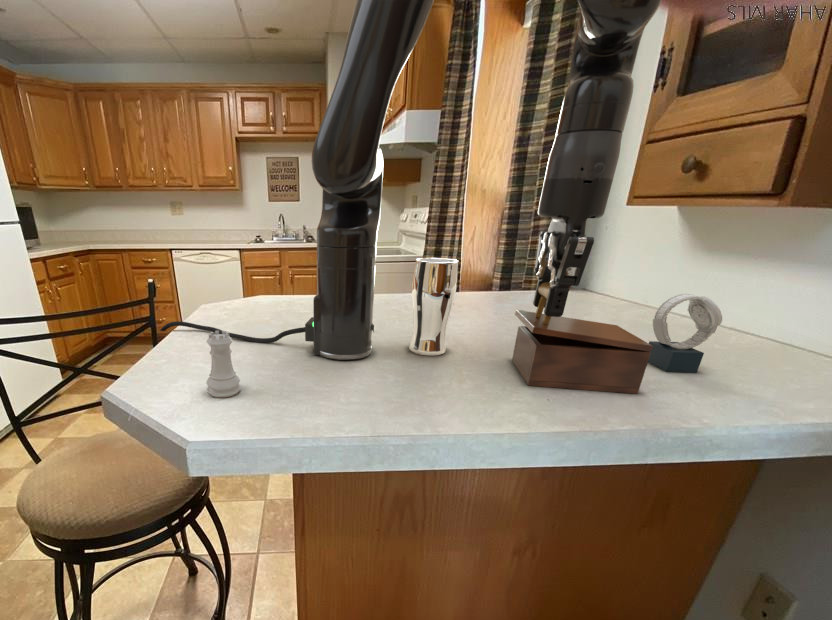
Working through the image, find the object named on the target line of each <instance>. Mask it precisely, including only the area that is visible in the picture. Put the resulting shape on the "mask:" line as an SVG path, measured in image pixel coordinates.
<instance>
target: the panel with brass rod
mask: <svg viewBox="0 0 832 620" xmlns="http://www.w3.org/2000/svg"><path fill="white" fill-rule="evenodd" d="M549 287H550V283H549V282H545V283H542V284H541V285H540V286H539V288H538V292H539V294H540V295H541V298H540V301H539V304H538V307H536V311H535V312H534V311H527V310H521V309H516V310H515V312H514V316H515V317H516V318H517V319H518V320H519V321H520V322H521V323H522V324H523V326H526V327H527V328H528V329H529V330H530V331H531V332H532V333H536V334H542V335H549V336H555V337H561V338H567V339H574V340H580V341H586V342H592V343H598V344H605V345H611V346H617V347H623V348H630V349H636V350H642V351H648V352H651V350H652V348H653V346H652V345H650V344H649V342H647V341H645V340H643V339H641V338H640V337H638V336H637V335H635V334H633V333H632V332H630V331H628V330H626V329H624V328H623V327H621V326H619V325H618V324H611V323H606V322H605V323H604V322H599V321H591V320H585V319H578V318H573V317H566V316H561V317H551V316H546V315H545V314H544V309H545V308H544V306H545V303H546V300H547V296H548V292H549Z"/></svg>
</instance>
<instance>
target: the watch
mask: <svg viewBox="0 0 832 620" xmlns="http://www.w3.org/2000/svg"><path fill="white" fill-rule="evenodd" d="M687 301H689V303H688V305H687V312H688V314H689V316H690V319H691V320H692V321H693V322H694V325H695V330H696V332H695V333H694V334H693V335H692V336H691V337H688V338H687V339H686V340H683V341H680V342H679V341H672V339H671V336H670V333H669V328H668V327H669V326H668V325H669V324H668V322H667V320H668V315H669V313H670V312H671V311H672V310H673V309H675V307H677V306H678V305H680V304H682V303H684V302H687ZM722 322H723V313H722V311H721V309H720V308H719V306H718V304H717V303H716V302H715V301H713V299H711V298H709V297H707V296H698V295H695V294H690V293H681V294H677V295H674V296H672V297H670V298H668V299H667V300H665V301H664V302H662V304H661V305H660V306H659V307H658V308H657V310H656V311H655V315H654V318H653V319H652V329H653V333H654V335H655V338H656V340H657V341H653V340H649V341H648V343H649V344H650V345H652V346H653V348H652V350H651V354H650V357H649V360H648V363H649V364H651V365H653V366H655V367H656V368H658V369H661V370H663V371H664V372H666V373H667V372H668V373H690V374H691V373H692V374H694V373H695V374H696V373H698V371H699V368H700V365H701V363H702V361H703V358H704V354H705V352H703V351H700V350H698V349H696V347H698V346H701V345H702V344H703V343H705V342H706V341H707V340H709V338H710V337H711V336H712V335H713V334H716V331H717V329H718V326H720V325H721V324H722Z"/></svg>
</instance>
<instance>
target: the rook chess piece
mask: <svg viewBox="0 0 832 620" xmlns="http://www.w3.org/2000/svg"><path fill="white" fill-rule="evenodd" d="M229 333H230V332H229V331H227V330H222V334H219V331H215V332H211V331H209V333H208V338H207V339H206V343H207V345H208V346H209V347H210V351H209V352H208V354H209V355H210V358H211V366H210V367H211V368H210V373H209V375H208V376H209V377H208V378H207V380H206V386H207V388H206V391H207V393H208V394H209V395H210V396H212V397H214V398H231V397H234V396H236V395H237V394H238V393H239V392H240V390H241V388H242V385H240V382H241V379H240V377H239V376H238V375H237V372H236V371H235V369H234V366H233V362H232V358H231V357H232V350H231V344H232V342H233V341H234V338H231V337H230V335H229Z"/></svg>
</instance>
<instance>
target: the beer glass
mask: <svg viewBox="0 0 832 620" xmlns="http://www.w3.org/2000/svg"><path fill="white" fill-rule="evenodd" d="M458 272H459V260H457V259H453V258H443V257H421V258H416V259H415V264H414V270H413V277H412V285H411V306H412V317H413V318H412V319H413V330H412V336H411V339H410V343H409V347H408V348H409V351H411V353H414V354H417V355H422V356H428V357H429V356H431V357H432V356H433V357H434V356H441V355H444V354H445V353H446V350H447V349H446V330H447V325H448V322H449V319H450V315H451V312H452V309H453V306H454V302H455V298H456V292H457V285H458Z"/></svg>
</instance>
